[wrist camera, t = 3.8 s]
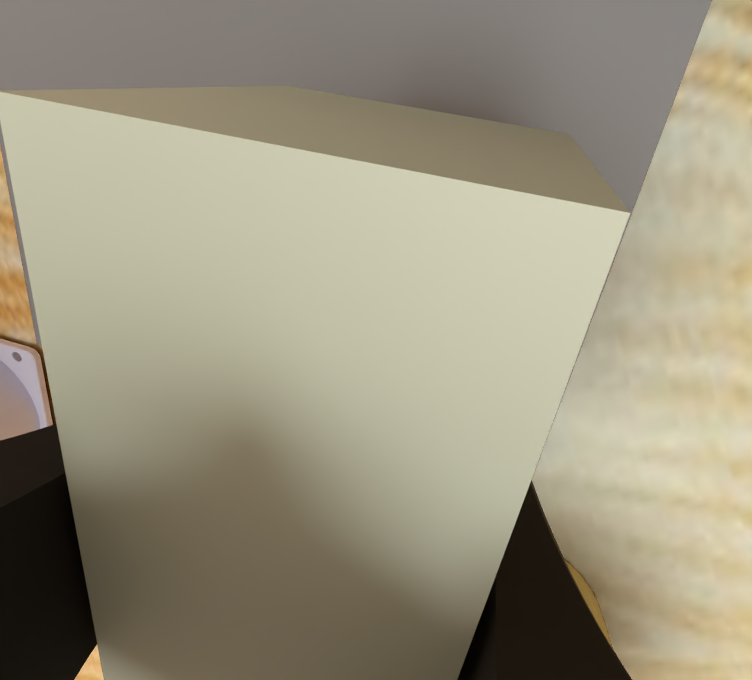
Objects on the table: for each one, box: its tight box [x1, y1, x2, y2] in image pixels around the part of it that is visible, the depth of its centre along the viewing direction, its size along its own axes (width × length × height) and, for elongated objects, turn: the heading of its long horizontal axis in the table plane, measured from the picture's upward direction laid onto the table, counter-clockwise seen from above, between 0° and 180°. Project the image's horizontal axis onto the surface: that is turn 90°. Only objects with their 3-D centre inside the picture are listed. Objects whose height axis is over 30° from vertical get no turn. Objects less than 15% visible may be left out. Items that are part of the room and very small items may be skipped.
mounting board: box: [0, 0, 712, 475], centre depth 18 cm, size 22×18×1 cm
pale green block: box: [0, 86, 630, 680], centre depth 9 cm, size 5×12×6 cm, turn 173°
